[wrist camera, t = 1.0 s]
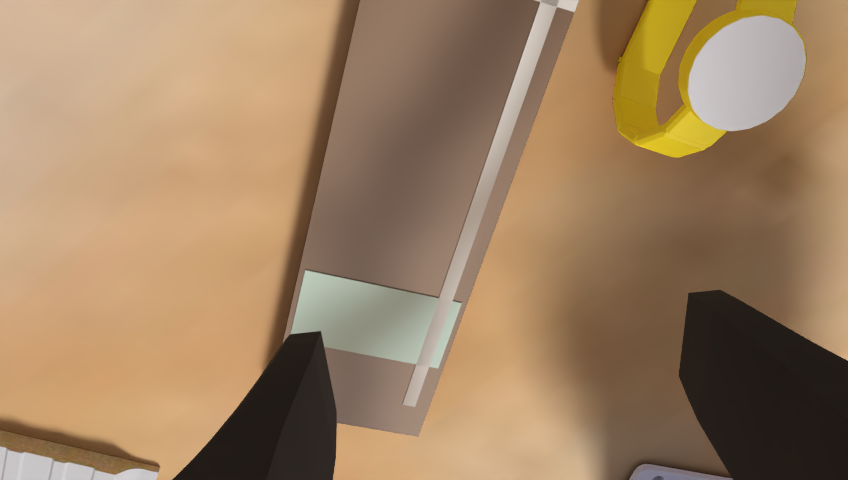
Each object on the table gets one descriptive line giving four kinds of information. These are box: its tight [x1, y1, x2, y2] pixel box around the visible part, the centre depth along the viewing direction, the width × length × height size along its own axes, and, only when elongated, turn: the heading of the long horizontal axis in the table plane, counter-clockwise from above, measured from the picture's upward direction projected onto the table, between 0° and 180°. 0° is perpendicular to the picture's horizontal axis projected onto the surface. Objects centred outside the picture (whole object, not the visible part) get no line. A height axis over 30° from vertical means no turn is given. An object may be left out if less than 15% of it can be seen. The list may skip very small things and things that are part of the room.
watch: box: [613, 0, 807, 158], centre depth 18 cm, size 6×3×6 cm, turn 161°
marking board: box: [283, 0, 579, 437], centre depth 22 cm, size 6×20×1 cm, turn 164°
